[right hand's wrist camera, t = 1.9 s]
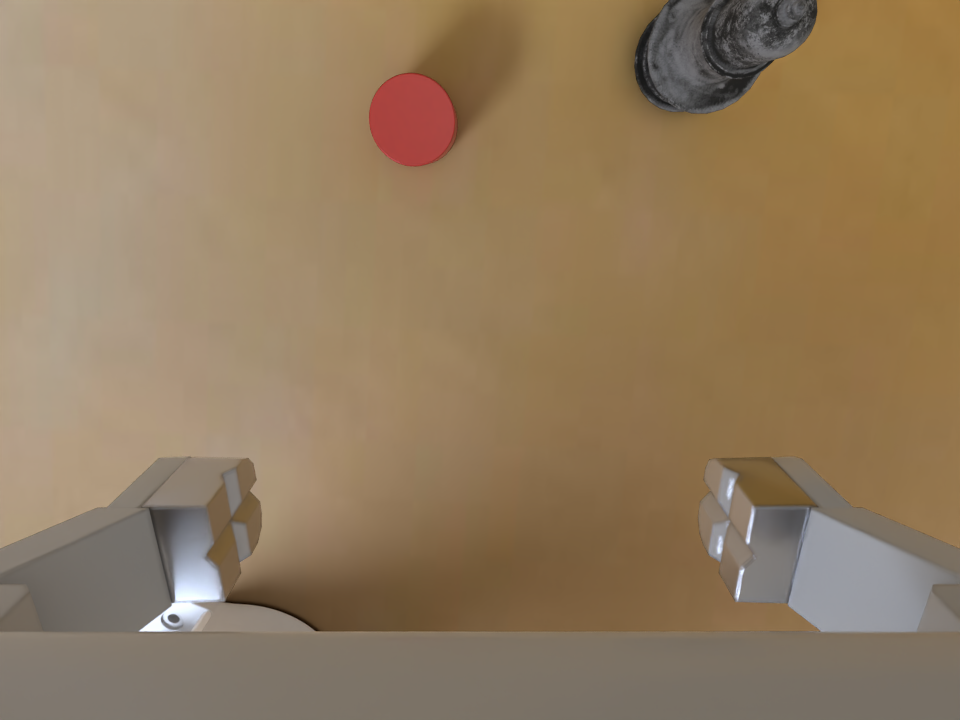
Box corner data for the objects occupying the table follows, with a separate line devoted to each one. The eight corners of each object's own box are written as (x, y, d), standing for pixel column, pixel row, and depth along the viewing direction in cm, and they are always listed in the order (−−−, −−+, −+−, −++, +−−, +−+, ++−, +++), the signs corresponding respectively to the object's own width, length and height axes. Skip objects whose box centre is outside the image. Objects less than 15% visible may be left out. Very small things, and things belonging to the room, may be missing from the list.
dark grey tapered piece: (642, -12, 30) (746, -112, 18) (751, 6, 30) (917, -82, 19) (618, 109, 32) (698, 85, 20) (719, 124, 32) (853, 110, 21)
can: (448, 75, 31) (445, 64, 27) (464, 156, 33) (463, 157, 29) (373, 91, 31) (358, 82, 28) (391, 171, 33) (381, 173, 29)
